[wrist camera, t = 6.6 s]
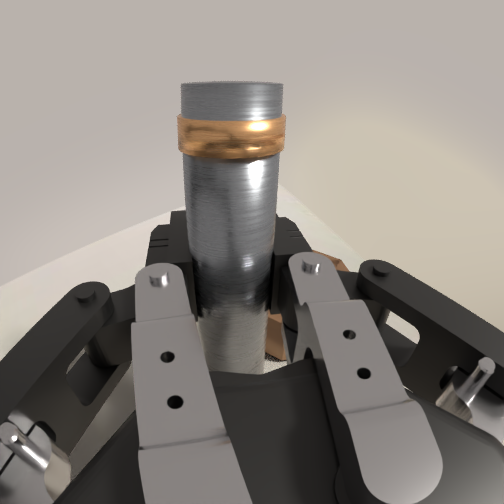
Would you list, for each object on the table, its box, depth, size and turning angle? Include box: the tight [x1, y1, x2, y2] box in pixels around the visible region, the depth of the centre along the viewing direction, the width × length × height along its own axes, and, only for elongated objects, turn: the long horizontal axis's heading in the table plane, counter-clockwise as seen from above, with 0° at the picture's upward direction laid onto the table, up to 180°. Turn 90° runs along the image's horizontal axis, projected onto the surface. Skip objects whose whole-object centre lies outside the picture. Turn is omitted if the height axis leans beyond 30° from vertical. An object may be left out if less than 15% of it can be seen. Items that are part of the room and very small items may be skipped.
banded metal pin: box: [177, 81, 286, 374], centre depth 10 cm, size 3×3×14 cm
